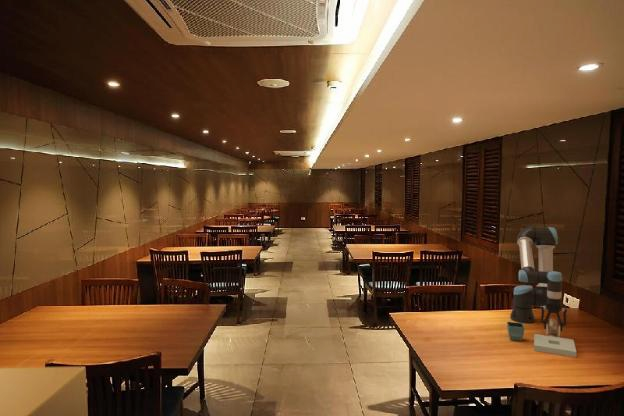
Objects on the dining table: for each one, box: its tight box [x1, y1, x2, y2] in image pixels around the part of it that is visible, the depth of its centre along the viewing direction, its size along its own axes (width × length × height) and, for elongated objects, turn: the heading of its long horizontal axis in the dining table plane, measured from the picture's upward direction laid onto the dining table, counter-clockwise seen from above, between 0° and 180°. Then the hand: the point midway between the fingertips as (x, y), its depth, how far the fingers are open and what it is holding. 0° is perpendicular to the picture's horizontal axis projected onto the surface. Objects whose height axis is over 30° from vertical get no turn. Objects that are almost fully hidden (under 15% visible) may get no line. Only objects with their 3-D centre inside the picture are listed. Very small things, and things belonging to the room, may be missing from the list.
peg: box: [548, 317, 559, 337], centre depth 249 cm, size 4×4×12 cm
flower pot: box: [506, 321, 526, 342], centre depth 248 cm, size 9×9×9 cm
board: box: [533, 333, 577, 358], centre depth 235 cm, size 20×20×3 cm
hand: (552, 335), depth 249 cm, fingers open, 6 cm apart
